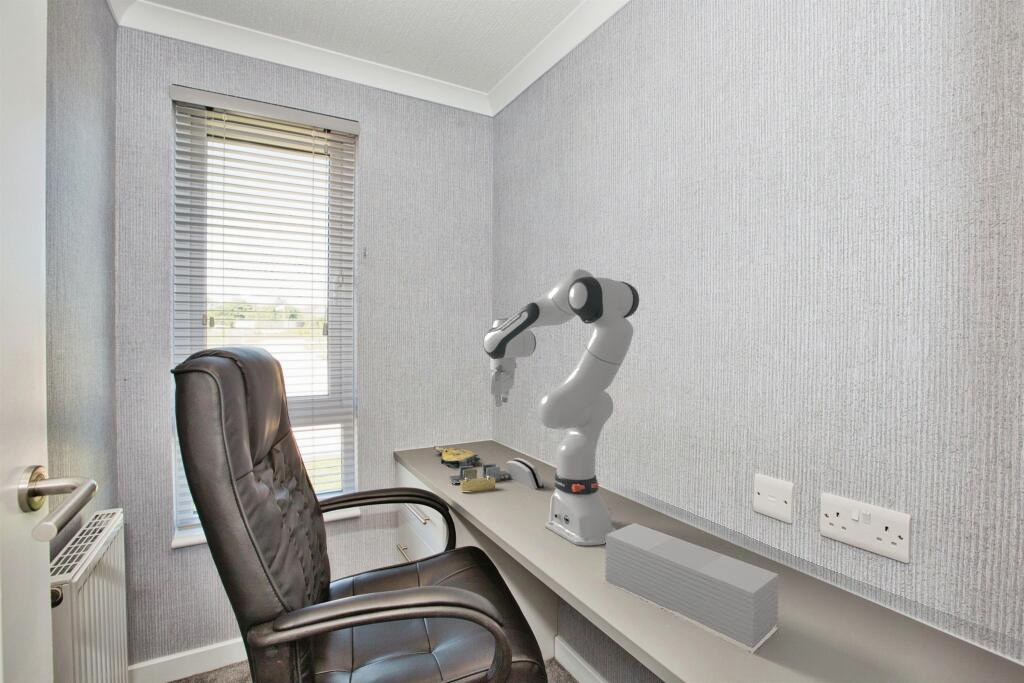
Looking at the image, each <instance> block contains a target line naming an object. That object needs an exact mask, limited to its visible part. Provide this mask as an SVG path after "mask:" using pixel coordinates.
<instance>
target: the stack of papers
mask: <svg viewBox="0 0 1024 683" xmlns="http://www.w3.org/2000/svg"><path fill="white" fill-rule="evenodd" d="M604 563H605V568H604V571H605V572H604V573H605V574H604V577H605V579H604V582H605V581H607V582H609V583H611V584H613V585H615V586H618V587H620V588H623V589H625V590H627V591H629V592H632V593H634V594H636V595H638V596H641V597H643V598H645V599H647V600H650V601H652V602H654V603H656V604H658V605H660V606H662V607H665V608H667V609H669V610H672V611H675V612H678V613H680V614H682V615H684V616H686V617H688V618H690V619H692V620H695V621H697V622H699V623H701V624H703V625H705V626H707V627H709V628H711V629H713V630H715V631H717V632H719V633H722V634H724V635H726V636H728V637H730V638H732V639H734V640H736V641H738V642H740V643H743V644H745V645H746V646H748V647H751V648H754V647H755V646H756V645H757V644H758V643H759V642H760V641H761V640H762V639H763V638H764V637H765V636H766V635H767V634H768V633H769V632H770V631H771V630H772V629H773V627H775V625H776V624H777V623H778V624H779V621H778V620H779V617H778V616H779V614H778V613H779V601H778V600H779V579H780V578H779V576H780V575H779V573H776V572H773V571H770V570H768V569H765V568H761V567H759V566H756V565H754V564H751V563H747V562H746V561H743V560H740V559H737V558H735V557H731V556H729V555H726V554H723V553H720V552H718V551H714V550H712V549H709V548H706V547H703V546H701V545H700V546H699V545H697V544H694V543H692V542H688V541H685V540H684V539H680V538H678V537H674V536H672V535H669V534H666V533H664V532H661V531H658V530H655V529H652V528H649V527H647V526H644V525H641V524H639V523H636V522H634V523H631V524H629V525H626V526H624V527H621V528H618V529H616V531H614V532H611V533H609V534H606V544H605V562H604ZM607 582H606V583H607ZM609 583H608V584H609ZM611 584H610V585H611ZM613 585H612V586H613ZM615 586H614V587H615ZM618 587H617V588H618ZM620 588H619V589H620Z"/></svg>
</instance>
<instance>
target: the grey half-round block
mask: <svg viewBox="0 0 1024 683" xmlns="http://www.w3.org/2000/svg"><path fill="white" fill-rule="evenodd" d="M505 465H506V470H507V473H509V479H511V480H514V481H515V482H518V483H519V484H522V485H524V486H526V487H528V488H530V489H533V490H537V489H538V487H543V488H546V484H545V482H544V481H542V480H541V478H540V475H539V471H538V469H537V467H536V466H535V465H534V464H532V463H531V462H529V461H528V460H525V459H523V458H520V457H515V458H512V459H510V460H508V461H507V462H506V464H505Z"/></svg>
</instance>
